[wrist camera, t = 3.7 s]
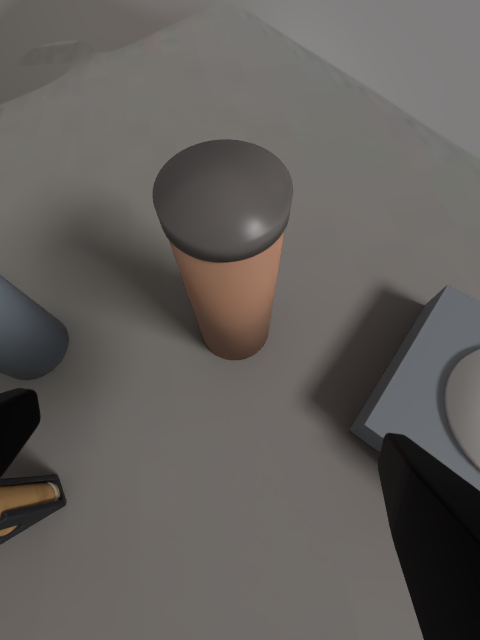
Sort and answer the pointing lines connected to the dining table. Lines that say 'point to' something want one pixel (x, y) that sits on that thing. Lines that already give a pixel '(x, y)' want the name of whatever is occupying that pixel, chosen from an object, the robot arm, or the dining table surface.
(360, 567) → the dining table surface
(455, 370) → the dock unit
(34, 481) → the ammunition clip
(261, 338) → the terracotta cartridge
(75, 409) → the dining table surface
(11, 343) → the cylinder
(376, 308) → the dining table surface
